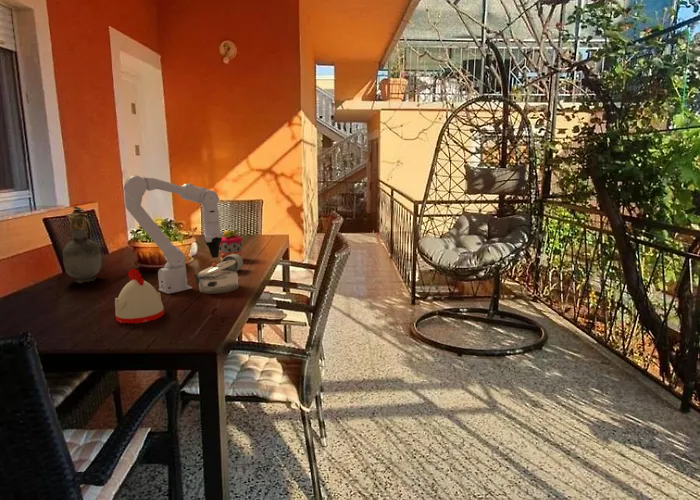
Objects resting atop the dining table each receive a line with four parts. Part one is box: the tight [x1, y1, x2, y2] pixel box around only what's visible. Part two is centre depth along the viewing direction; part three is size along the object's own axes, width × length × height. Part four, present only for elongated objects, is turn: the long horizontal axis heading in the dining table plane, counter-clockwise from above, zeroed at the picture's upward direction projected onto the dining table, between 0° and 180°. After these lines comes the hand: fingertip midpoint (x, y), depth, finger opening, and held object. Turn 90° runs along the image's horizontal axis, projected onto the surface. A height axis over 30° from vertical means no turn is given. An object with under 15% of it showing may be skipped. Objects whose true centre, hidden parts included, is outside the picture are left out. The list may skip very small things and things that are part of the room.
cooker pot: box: [195, 270, 239, 295], centre depth 179 cm, size 15×20×5 cm
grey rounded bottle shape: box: [62, 206, 102, 284], centre depth 193 cm, size 11×19×30 cm, turn 10°
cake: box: [219, 228, 244, 262], centre depth 225 cm, size 10×11×15 cm
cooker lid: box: [194, 260, 236, 278], centre depth 178 cm, size 15×15×2 cm
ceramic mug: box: [220, 254, 244, 273], centre depth 204 cm, size 11×8×8 cm
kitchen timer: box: [114, 268, 165, 325], centre depth 149 cm, size 14×14×15 cm
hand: (215, 257), depth 184 cm, fingers closed
